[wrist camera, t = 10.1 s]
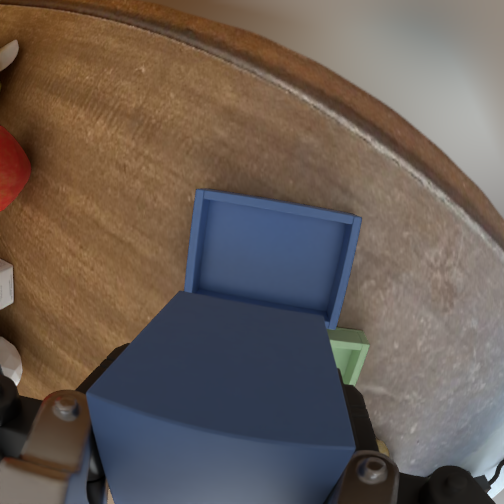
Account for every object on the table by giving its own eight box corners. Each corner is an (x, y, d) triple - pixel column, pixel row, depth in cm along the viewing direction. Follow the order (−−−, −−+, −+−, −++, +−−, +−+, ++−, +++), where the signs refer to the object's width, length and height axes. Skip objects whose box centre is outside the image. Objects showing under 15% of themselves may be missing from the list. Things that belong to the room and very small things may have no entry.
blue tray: (354, 214, 22) (362, 217, 20) (331, 316, 24) (335, 330, 22) (205, 188, 23) (195, 188, 21) (192, 291, 25) (182, 302, 22)
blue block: (323, 315, 9) (357, 448, 4) (292, 421, 10) (291, 549, 5) (179, 289, 10) (84, 392, 4) (173, 399, 11) (116, 512, 5)
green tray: (363, 330, 24) (370, 344, 22) (336, 406, 26) (339, 423, 24) (227, 308, 25) (221, 321, 22) (216, 388, 27) (210, 405, 24)
